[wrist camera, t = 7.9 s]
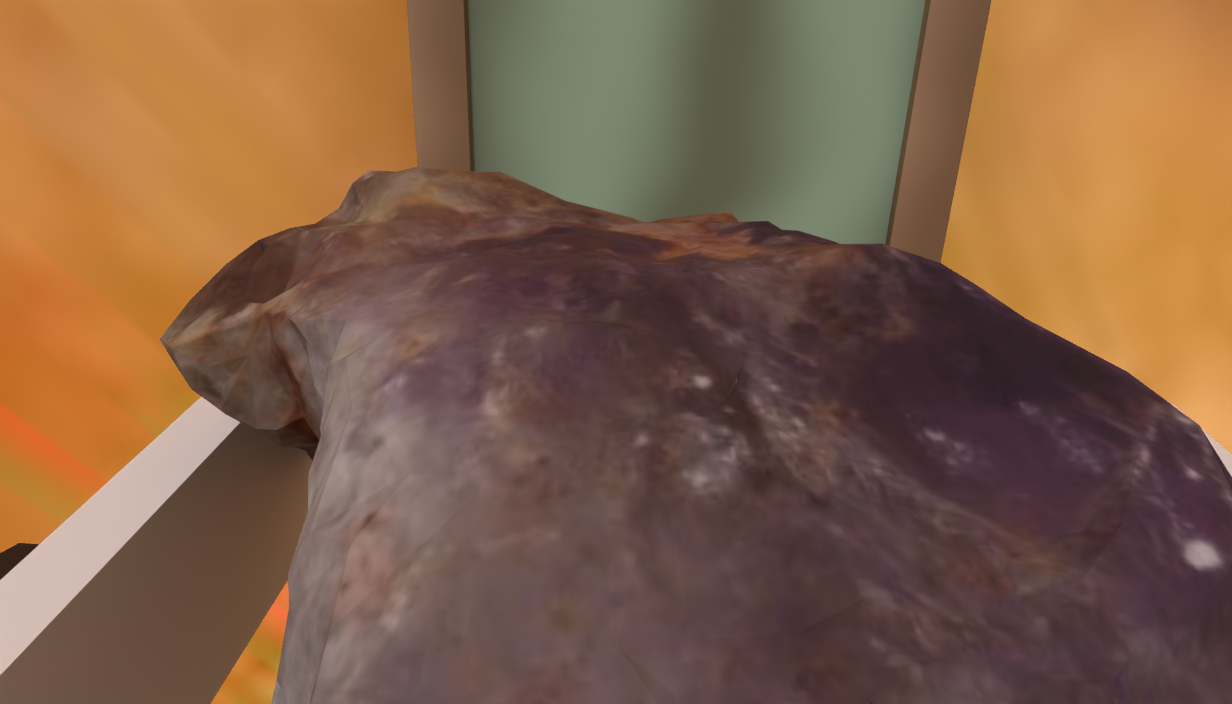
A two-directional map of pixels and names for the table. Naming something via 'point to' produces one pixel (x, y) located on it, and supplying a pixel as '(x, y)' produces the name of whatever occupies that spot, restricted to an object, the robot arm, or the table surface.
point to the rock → (700, 467)
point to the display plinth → (709, 106)
